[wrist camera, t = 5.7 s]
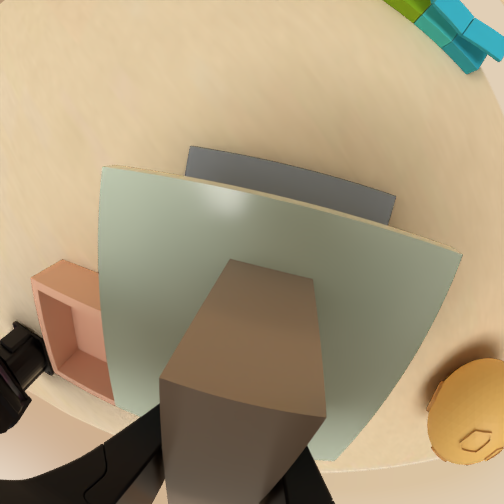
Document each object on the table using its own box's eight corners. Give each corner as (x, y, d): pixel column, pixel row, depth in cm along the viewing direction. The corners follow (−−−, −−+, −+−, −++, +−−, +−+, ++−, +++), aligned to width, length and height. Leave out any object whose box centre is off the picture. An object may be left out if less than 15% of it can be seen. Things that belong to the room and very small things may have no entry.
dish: (164, 386, 25) (146, 419, 20) (77, 348, 25) (53, 372, 21) (167, 294, 21) (140, 326, 16) (64, 258, 22) (30, 277, 17)
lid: (333, 449, 12) (334, 539, 7) (122, 396, 13) (73, 472, 7) (451, 247, 8) (561, 338, 2) (115, 164, 9) (-28, 193, 3)
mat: (331, 359, 20) (332, 363, 20) (170, 319, 21) (168, 321, 21) (394, 195, 16) (396, 196, 15) (192, 146, 17) (190, 146, 16)
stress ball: (450, 332, 18) (502, 418, 9) (511, 340, 17) (557, 402, 8) (397, 411, 22) (417, 494, 12) (463, 410, 21) (488, 474, 12)
